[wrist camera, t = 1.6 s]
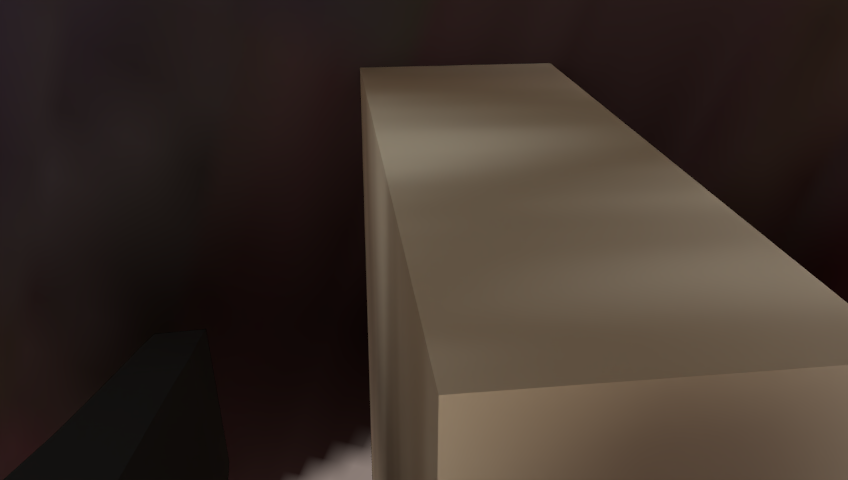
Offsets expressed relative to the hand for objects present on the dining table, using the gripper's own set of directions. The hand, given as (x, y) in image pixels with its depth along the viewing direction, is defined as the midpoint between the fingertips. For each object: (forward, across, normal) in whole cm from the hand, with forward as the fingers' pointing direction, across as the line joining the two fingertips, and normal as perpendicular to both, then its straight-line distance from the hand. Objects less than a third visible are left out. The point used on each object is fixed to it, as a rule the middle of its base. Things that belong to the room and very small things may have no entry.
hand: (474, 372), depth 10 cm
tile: (+2, 0, 0) cm, 2 cm away
